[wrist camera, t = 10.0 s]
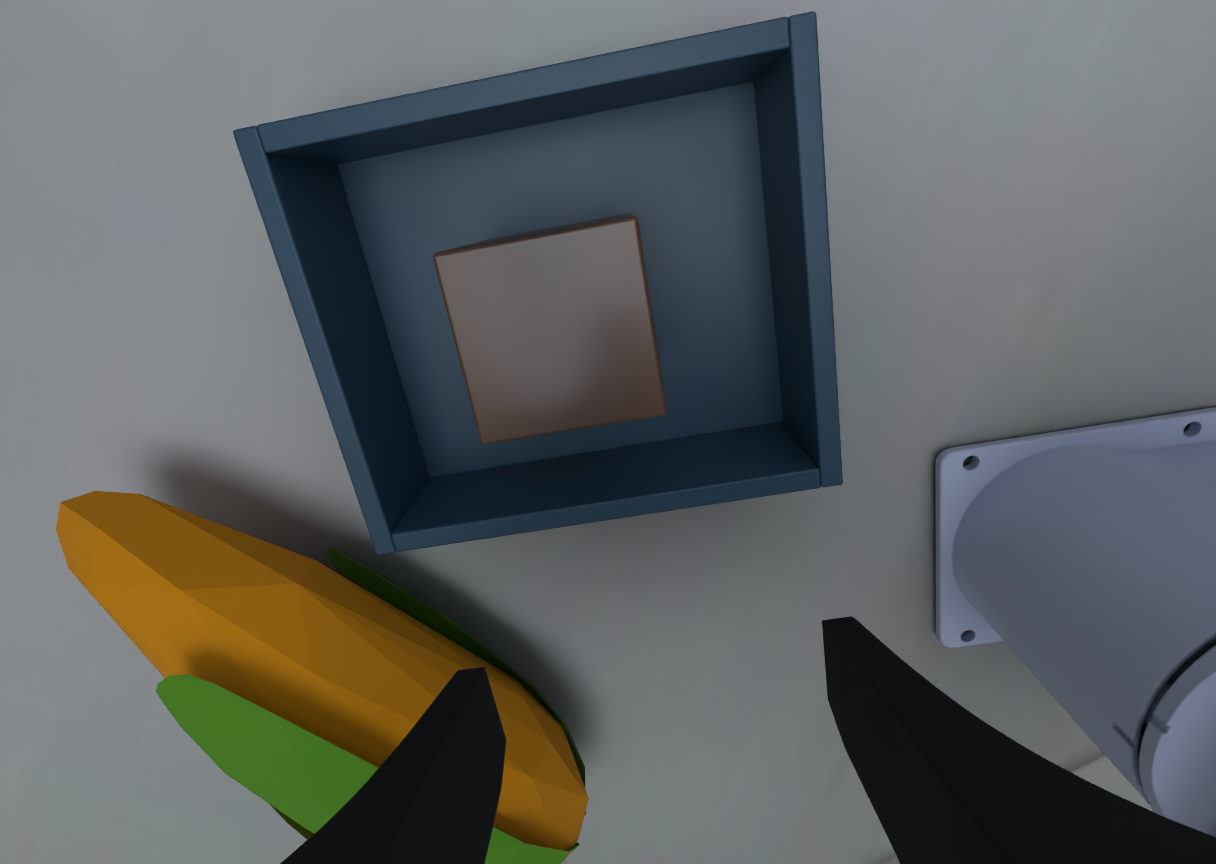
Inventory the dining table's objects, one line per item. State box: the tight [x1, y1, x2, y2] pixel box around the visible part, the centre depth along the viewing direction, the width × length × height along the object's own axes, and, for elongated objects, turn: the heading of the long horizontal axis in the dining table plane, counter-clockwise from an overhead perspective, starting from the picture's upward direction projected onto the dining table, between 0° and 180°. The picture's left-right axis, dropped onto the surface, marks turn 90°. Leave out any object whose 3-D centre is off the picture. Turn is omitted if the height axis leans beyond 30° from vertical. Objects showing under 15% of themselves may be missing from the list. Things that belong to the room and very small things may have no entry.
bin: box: [233, 11, 843, 555], centre depth 18 cm, size 13×11×4 cm
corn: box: [56, 491, 589, 864], centre depth 21 cm, size 7×8×20 cm
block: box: [433, 213, 667, 445], centre depth 17 cm, size 4×4×6 cm
